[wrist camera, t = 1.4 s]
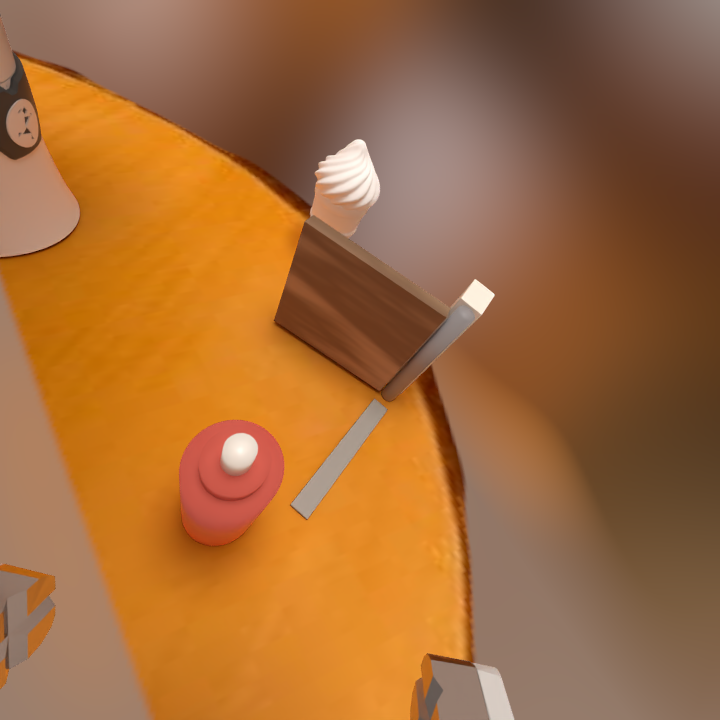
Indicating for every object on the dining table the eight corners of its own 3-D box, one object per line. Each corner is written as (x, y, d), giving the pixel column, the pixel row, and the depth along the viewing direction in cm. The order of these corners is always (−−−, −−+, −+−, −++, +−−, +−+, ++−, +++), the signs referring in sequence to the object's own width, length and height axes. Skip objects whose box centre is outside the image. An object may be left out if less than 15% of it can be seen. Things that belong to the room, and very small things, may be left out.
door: (288, 306, 45) (321, 208, 34) (388, 373, 45) (455, 298, 34) (274, 320, 43) (304, 221, 32) (379, 391, 43) (446, 317, 32)
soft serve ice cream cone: (349, 276, 53) (399, 176, 40) (292, 261, 50) (327, 149, 38) (348, 238, 57) (392, 138, 45) (295, 223, 55) (327, 111, 42)
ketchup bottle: (169, 540, 29) (158, 496, 17) (195, 466, 32) (200, 387, 20) (246, 550, 30) (284, 517, 19) (262, 478, 34) (304, 412, 22)
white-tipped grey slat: (288, 503, 33) (348, 444, 21) (400, 363, 48) (475, 279, 35) (308, 521, 33) (380, 472, 21) (414, 375, 48) (494, 294, 35)
